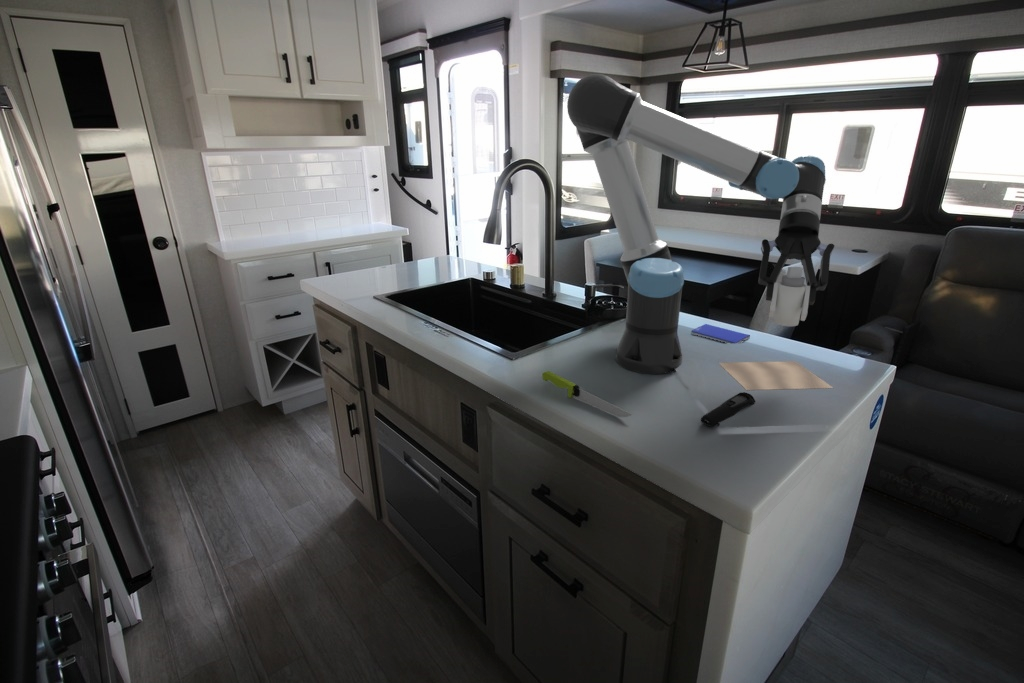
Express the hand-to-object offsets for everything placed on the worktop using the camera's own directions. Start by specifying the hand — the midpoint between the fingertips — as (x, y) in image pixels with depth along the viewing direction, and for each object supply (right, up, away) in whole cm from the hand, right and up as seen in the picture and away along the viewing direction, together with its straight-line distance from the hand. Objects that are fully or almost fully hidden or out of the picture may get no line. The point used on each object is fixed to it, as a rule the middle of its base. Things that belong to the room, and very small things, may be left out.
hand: (787, 315), depth 101 cm
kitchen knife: (-40, -18, 0) cm, 44 cm away
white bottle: (+2, -1, +4) cm, 5 cm away
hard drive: (+1, -4, +36) cm, 36 cm away
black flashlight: (-14, -20, -5) cm, 24 cm away
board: (+2, -13, +10) cm, 17 cm away
